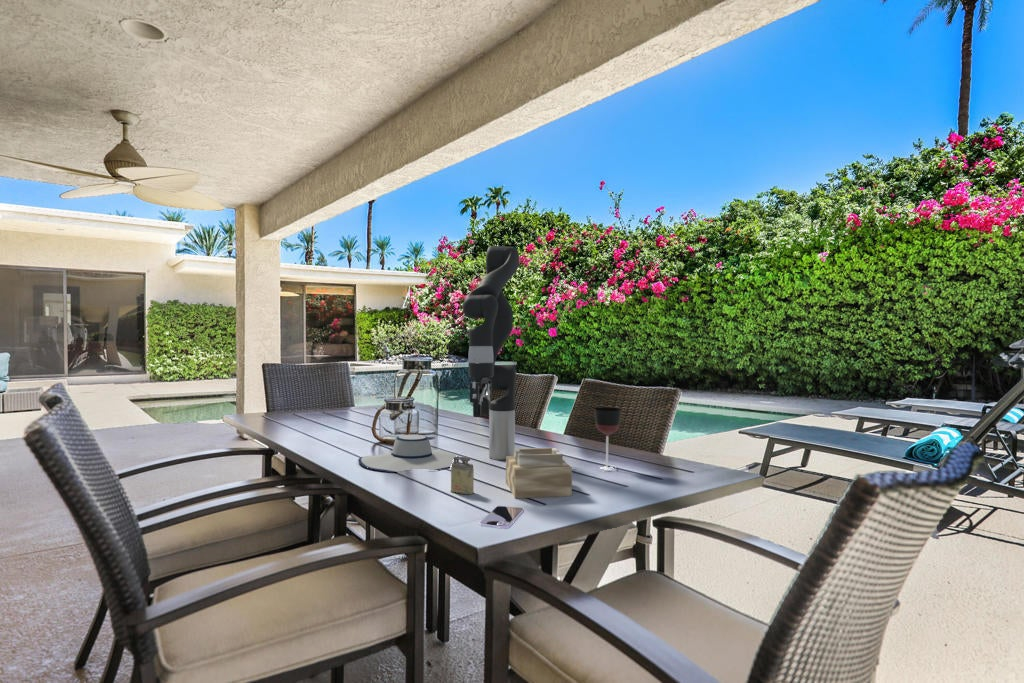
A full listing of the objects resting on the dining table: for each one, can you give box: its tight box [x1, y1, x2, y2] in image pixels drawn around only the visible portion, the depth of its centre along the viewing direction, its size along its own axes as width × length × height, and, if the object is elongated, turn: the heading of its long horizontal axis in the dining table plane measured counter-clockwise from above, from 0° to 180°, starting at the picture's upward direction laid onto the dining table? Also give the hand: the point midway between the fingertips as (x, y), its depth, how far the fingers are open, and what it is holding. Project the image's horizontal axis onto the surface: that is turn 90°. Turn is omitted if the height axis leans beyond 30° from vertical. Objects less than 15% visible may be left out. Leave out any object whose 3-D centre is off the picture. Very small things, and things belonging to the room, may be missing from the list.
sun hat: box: [357, 434, 456, 473], centre depth 205 cm, size 36×36×9 cm
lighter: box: [450, 455, 475, 495], centre depth 166 cm, size 7×4×10 cm, turn 62°
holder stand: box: [505, 447, 573, 499], centre depth 170 cm, size 16×16×11 cm
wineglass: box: [593, 406, 622, 470], centre depth 194 cm, size 8×9×20 cm
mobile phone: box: [478, 505, 525, 529], centre depth 145 cm, size 8×1×15 cm
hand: (481, 415), depth 176 cm, fingers open, 8 cm apart
